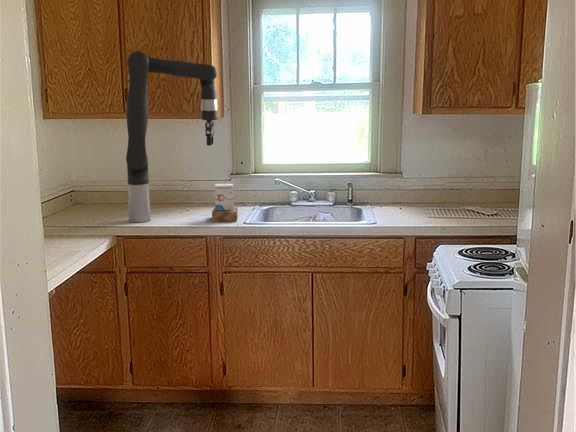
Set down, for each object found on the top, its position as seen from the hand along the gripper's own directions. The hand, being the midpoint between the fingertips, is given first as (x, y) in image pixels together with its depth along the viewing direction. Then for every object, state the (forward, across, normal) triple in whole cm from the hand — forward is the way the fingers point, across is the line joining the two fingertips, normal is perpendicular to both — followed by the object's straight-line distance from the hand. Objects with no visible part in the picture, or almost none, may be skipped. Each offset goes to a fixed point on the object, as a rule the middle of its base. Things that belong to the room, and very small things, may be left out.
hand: (210, 144), depth 271 cm
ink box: (+29, +10, +7) cm, 32 cm away
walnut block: (+34, +9, +7) cm, 36 cm away
